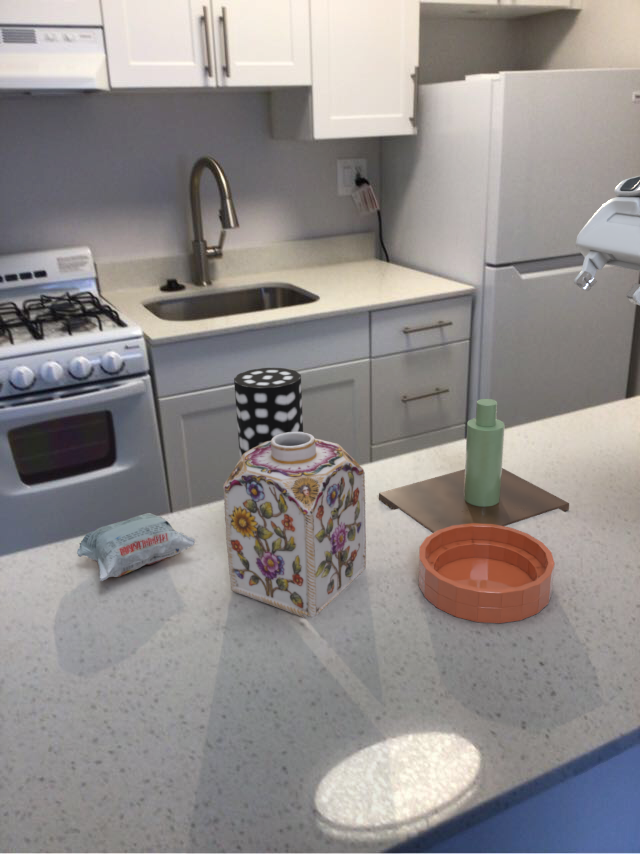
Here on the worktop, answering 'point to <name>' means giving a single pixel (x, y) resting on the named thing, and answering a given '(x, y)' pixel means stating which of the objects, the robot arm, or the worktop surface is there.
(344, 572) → the decorative jar
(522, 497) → the board
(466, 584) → the bowl
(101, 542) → the packaged food
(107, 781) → the worktop surface
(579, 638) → the worktop surface
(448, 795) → the worktop surface
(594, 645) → the worktop surface
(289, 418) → the spotted tube
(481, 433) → the bottle
